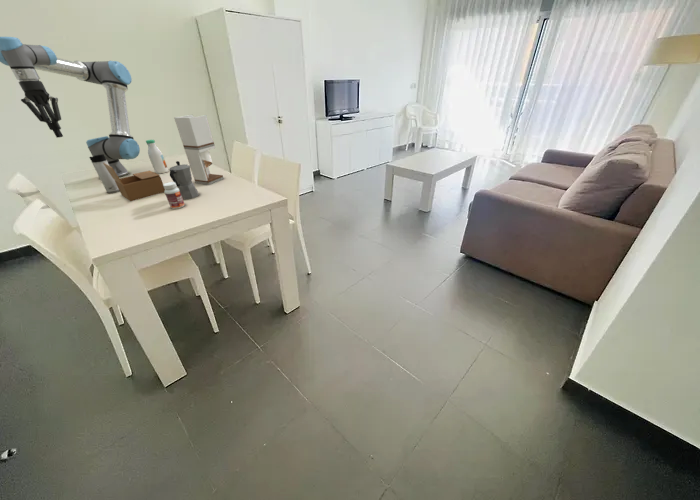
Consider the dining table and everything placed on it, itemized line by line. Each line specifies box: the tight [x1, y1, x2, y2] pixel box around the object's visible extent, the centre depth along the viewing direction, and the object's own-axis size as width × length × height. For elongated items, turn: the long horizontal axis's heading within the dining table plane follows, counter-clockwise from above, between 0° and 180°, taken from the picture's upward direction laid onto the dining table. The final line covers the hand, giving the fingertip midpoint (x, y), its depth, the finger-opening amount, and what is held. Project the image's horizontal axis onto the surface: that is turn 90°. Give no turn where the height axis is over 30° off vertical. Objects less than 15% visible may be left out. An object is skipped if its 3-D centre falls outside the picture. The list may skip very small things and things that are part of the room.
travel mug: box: [88, 154, 120, 194], centre depth 150 cm, size 6×7×20 cm
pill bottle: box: [163, 181, 186, 210], centre depth 132 cm, size 6×6×11 cm
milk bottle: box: [145, 139, 169, 175], centre depth 180 cm, size 8×8×20 cm
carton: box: [115, 170, 166, 202], centre depth 149 cm, size 17×14×9 cm
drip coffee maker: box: [173, 114, 224, 186], centre depth 158 cm, size 11×11×35 cm
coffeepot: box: [168, 160, 200, 200], centre depth 141 cm, size 15×9×18 cm, turn 179°
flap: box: [103, 163, 123, 184], centre depth 139 cm, size 8×14×1 cm
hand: (59, 136), depth 137 cm, fingers closed
